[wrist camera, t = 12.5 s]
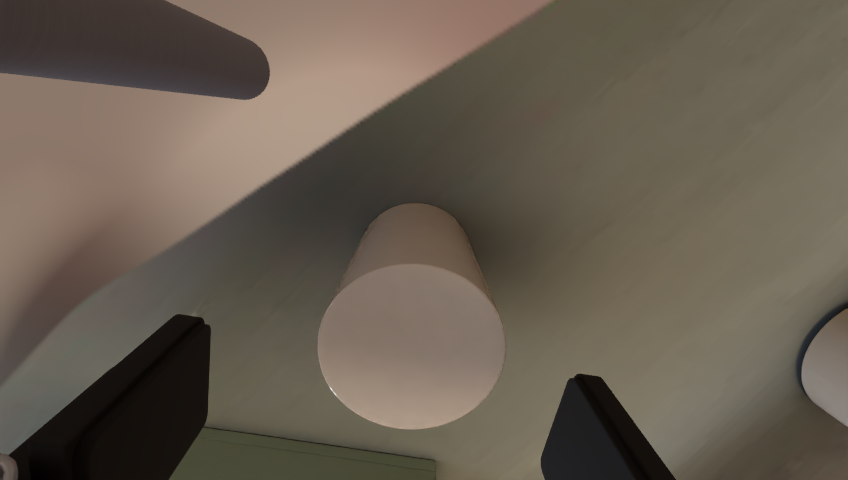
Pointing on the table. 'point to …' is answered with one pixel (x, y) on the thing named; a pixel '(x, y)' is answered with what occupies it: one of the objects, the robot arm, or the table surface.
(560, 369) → the table surface
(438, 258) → the canister
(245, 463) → the green shallow rectangular box
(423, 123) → the table surface
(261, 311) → the table surface
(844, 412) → the travel mug
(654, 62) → the table surface
